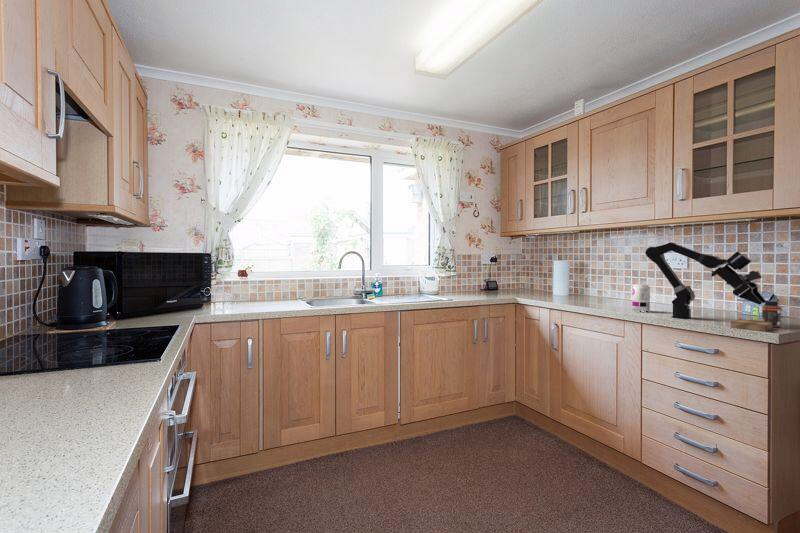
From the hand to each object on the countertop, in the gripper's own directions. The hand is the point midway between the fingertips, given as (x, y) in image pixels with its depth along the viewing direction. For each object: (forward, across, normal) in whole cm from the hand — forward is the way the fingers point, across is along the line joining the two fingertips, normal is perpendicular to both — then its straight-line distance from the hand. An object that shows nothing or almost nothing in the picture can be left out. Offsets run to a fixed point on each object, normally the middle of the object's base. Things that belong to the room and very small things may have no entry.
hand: (762, 303), depth 174 cm
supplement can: (-30, +9, +44) cm, 54 cm away
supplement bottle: (+9, 0, +5) cm, 11 cm away
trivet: (+6, -11, +8) cm, 15 cm away
